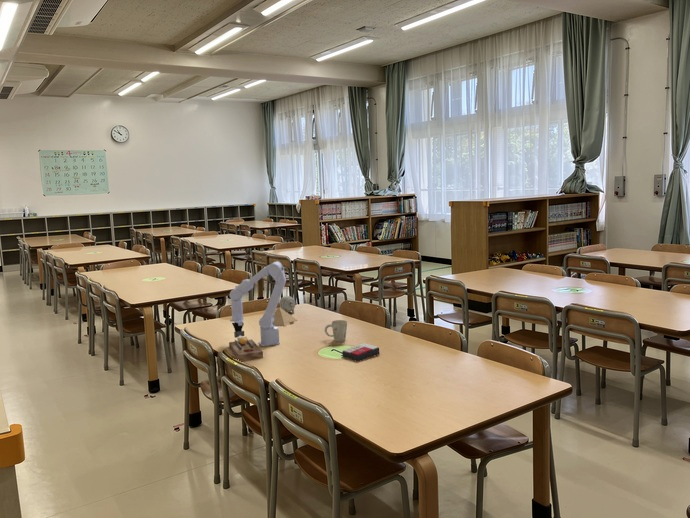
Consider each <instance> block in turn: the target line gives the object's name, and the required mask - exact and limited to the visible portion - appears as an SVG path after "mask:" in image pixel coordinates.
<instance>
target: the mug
mask: <svg viewBox="0 0 690 518" xmlns="http://www.w3.org/2000/svg"><path fill="white" fill-rule="evenodd" d="M328 328H332V334H329V332H328V331H327V330H328ZM347 328H348V321H347V320H343V319H336V320H332V321H331V324H326V326H325V327H324V333H325V335H326V336H327V337H331V338H332V337H333V340H334V341H335V342H345V341H346V338H347V337H346V336H347Z"/></svg>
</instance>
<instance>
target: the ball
mask: <svg viewBox="0 0 690 518" xmlns="http://www.w3.org/2000/svg"><path fill="white" fill-rule="evenodd" d="M246 338H247V337H246ZM246 338H241V339H240V343H241V344H242V345H244V344H246V343H247V339H248V338H247V339H246Z"/></svg>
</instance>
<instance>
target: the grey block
mask: <svg viewBox="0 0 690 518" xmlns="http://www.w3.org/2000/svg"><path fill="white" fill-rule="evenodd" d="M233 333H234V338H236V339H237V340H236V341H238V343H240V339H241V338H247V336H246V335H245V331H244V330H242V331H236V332H235V331H233Z"/></svg>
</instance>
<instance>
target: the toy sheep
mask: <svg viewBox="0 0 690 518" xmlns="http://www.w3.org/2000/svg"><path fill="white" fill-rule="evenodd" d="M278 304H279V307H280V308H281V309H283V310H284V311H285V312H287V313H288V314H289V313H292V314H294V313H295V308H296V300H295V299H294V297H293V296H290V295H284V296H282V297H280V299H279V302H278Z"/></svg>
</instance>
